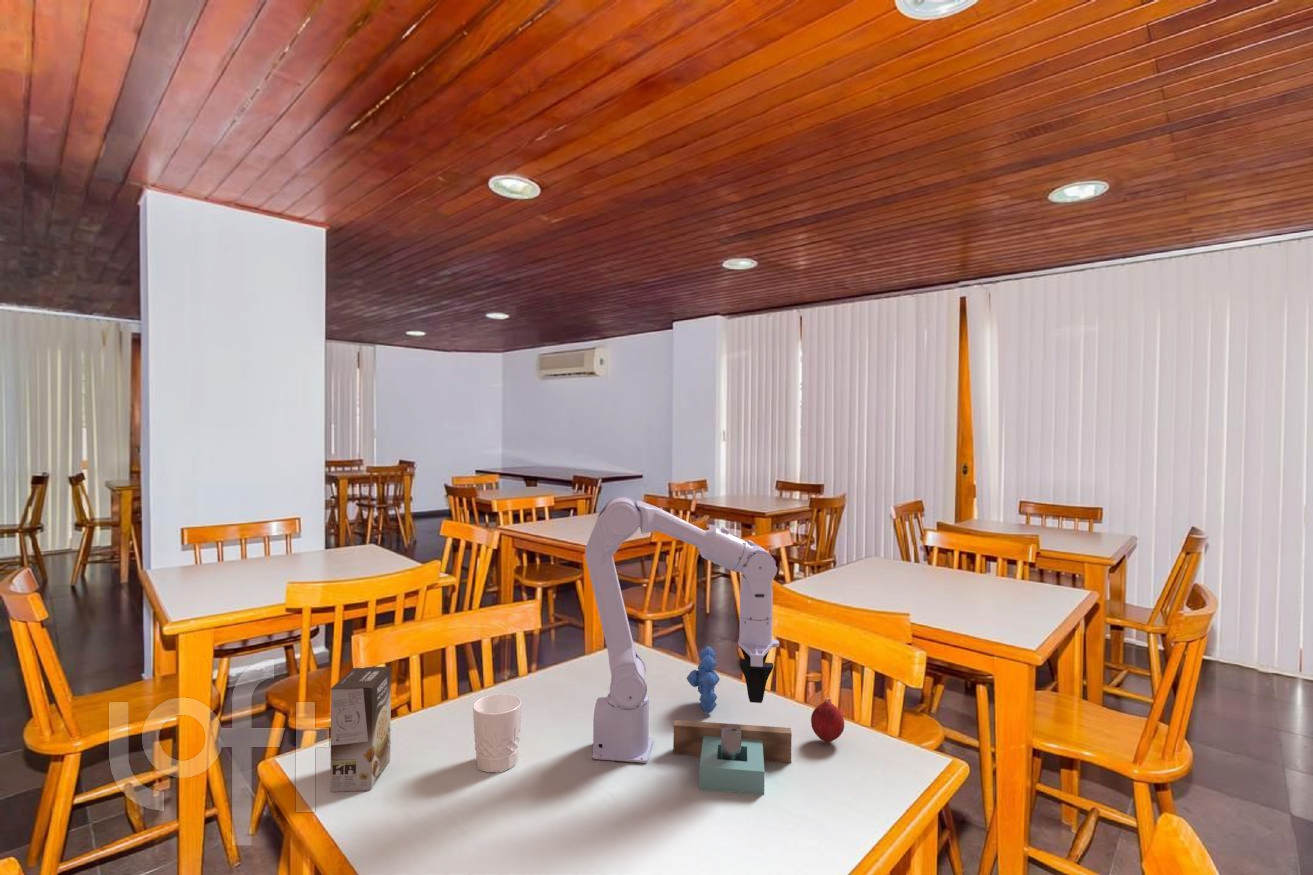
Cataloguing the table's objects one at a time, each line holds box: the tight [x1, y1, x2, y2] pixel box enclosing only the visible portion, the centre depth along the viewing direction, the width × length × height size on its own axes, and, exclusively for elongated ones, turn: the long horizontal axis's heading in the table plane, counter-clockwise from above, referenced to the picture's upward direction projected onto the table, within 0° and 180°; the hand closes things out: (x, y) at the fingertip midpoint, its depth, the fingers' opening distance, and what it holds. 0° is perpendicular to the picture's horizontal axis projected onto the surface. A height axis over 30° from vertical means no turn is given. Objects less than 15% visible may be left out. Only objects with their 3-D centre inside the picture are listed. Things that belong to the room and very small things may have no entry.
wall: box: [672, 719, 793, 764], centre depth 110 cm, size 20×2×5 cm, turn 82°
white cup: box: [472, 693, 522, 773], centre depth 107 cm, size 8×8×10 cm
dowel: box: [721, 723, 741, 761], centre depth 103 cm, size 3×3×7 cm
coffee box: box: [329, 666, 392, 793], centre depth 102 cm, size 9×6×16 cm
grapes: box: [686, 645, 721, 714], centre depth 128 cm, size 12×7×12 cm, turn 178°
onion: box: [810, 697, 845, 744], centre depth 114 cm, size 6×6×8 cm
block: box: [698, 736, 765, 796], centre depth 104 cm, size 10×10×4 cm
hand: (755, 692), depth 112 cm, fingers open, 7 cm apart
